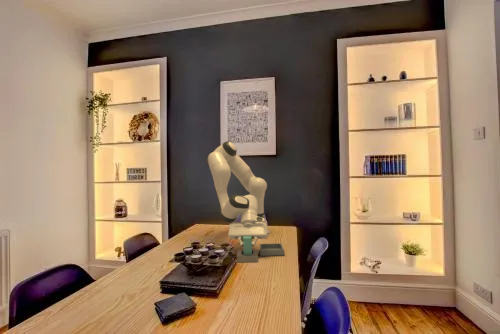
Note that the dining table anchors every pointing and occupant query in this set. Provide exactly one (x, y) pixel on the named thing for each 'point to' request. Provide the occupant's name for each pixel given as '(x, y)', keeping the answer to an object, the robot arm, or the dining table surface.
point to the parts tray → (271, 249)
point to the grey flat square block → (247, 256)
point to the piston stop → (247, 245)
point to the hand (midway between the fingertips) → (247, 245)
